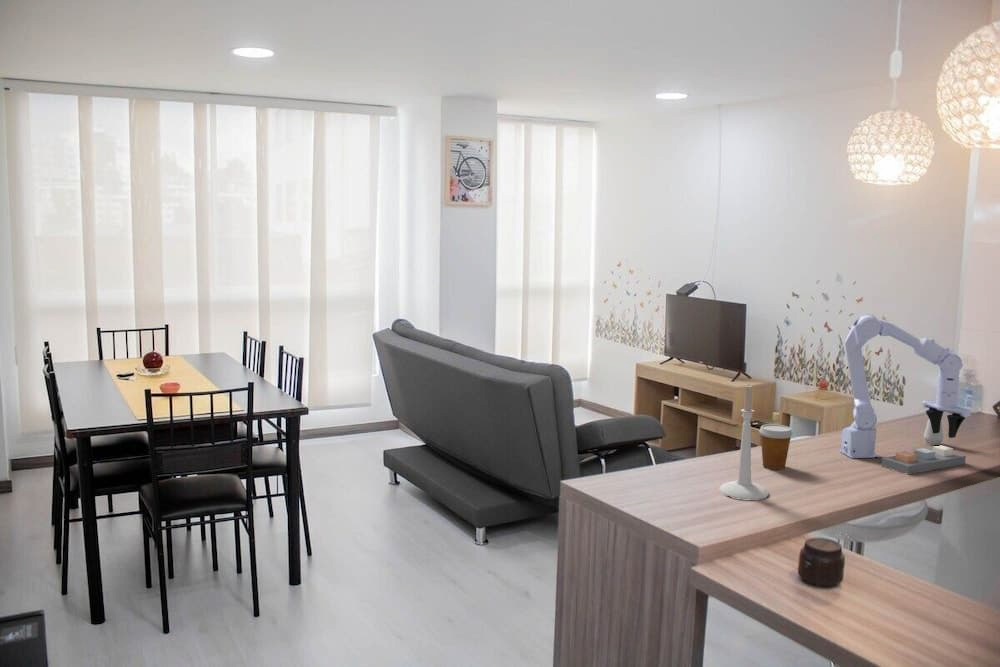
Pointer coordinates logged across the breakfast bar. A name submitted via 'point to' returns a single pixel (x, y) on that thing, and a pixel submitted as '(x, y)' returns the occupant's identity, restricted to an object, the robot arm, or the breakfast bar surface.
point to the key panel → (924, 463)
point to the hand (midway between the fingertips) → (943, 435)
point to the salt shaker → (930, 436)
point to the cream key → (943, 450)
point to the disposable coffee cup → (775, 445)
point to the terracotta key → (906, 457)
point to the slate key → (925, 454)
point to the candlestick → (745, 460)
